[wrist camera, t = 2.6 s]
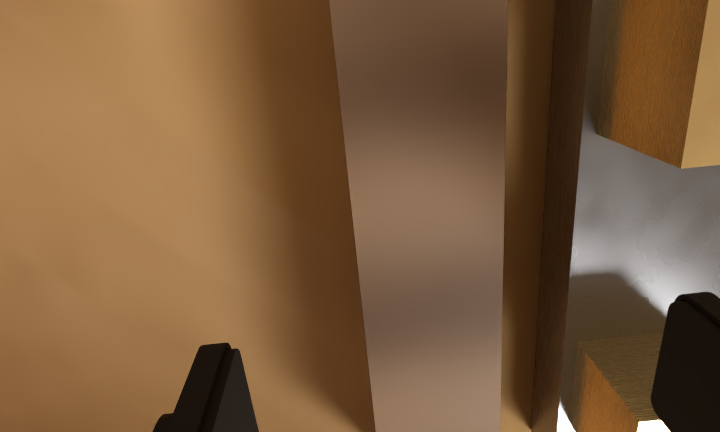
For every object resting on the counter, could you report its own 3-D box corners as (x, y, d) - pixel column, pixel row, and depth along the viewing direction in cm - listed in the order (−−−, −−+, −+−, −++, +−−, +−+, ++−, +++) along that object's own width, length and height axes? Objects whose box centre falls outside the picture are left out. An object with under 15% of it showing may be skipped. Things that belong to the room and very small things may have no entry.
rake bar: (459, 433, 23) (497, 560, 18) (377, 442, 23) (390, 572, 18) (447, -89, 15) (511, -156, 10) (322, -76, 15) (313, -136, 10)
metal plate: (735, 409, 23) (779, 451, 21) (531, 431, 23) (553, 476, 21) (874, -131, 15) (972, -159, 13) (561, -101, 15) (602, -125, 13)
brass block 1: (720, 122, 15) (843, 152, 12) (596, 134, 15) (680, 168, 12) (746, -16, 14) (897, -32, 10) (609, -3, 14) (710, -14, 10)
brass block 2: (665, 412, 20) (741, 500, 16) (569, 422, 20) (623, 513, 16) (680, 331, 18) (769, 408, 15) (577, 341, 18) (638, 422, 14)
